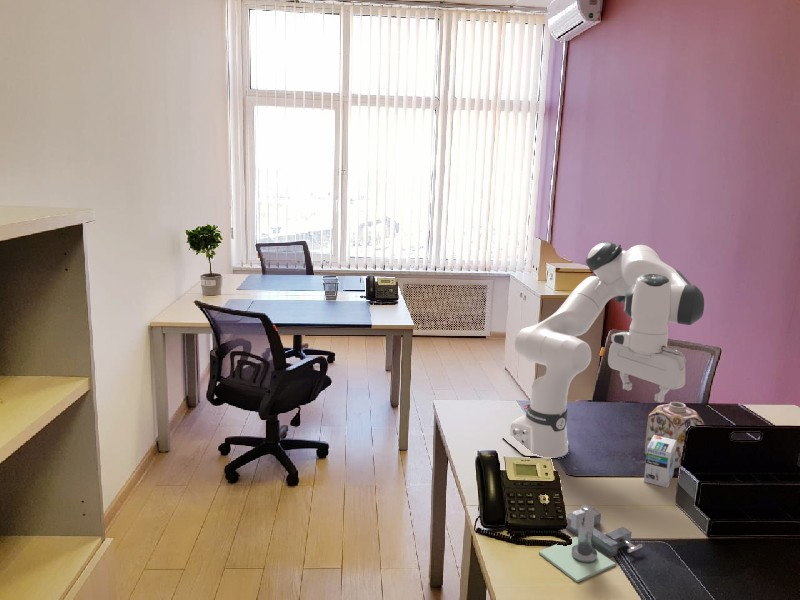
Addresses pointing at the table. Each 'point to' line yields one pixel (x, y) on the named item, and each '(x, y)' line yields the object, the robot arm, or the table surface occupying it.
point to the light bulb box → (660, 461)
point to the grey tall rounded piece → (584, 534)
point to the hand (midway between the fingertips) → (642, 395)
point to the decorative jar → (671, 425)
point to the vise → (607, 537)
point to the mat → (570, 566)
